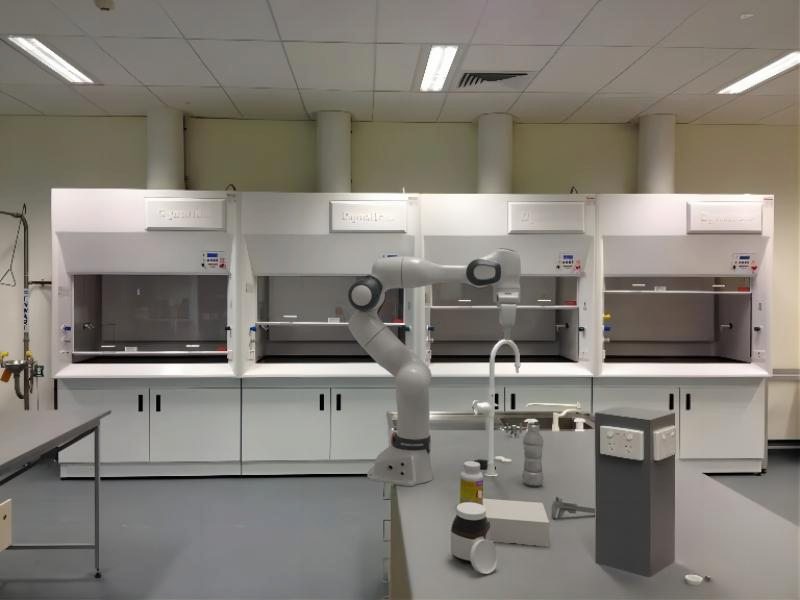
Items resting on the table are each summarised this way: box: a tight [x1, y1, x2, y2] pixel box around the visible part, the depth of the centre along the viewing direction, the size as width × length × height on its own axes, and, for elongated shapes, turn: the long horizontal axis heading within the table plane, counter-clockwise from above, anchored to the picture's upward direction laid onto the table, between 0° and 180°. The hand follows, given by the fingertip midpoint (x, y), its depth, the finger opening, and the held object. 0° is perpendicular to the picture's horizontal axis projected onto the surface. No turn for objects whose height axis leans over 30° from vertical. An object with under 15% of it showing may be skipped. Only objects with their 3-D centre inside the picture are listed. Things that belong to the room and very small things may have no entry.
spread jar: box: [450, 502, 499, 575], centre depth 114 cm, size 12×11×12 cm
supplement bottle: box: [459, 460, 484, 504], centre depth 144 cm, size 7×7×13 cm
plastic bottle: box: [522, 422, 544, 487], centre depth 163 cm, size 6×7×20 cm
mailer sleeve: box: [482, 498, 550, 548], centre depth 129 cm, size 16×12×6 cm
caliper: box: [551, 496, 595, 520], centre depth 140 cm, size 20×1×6 cm, turn 101°
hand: (506, 339), depth 165 cm, fingers open, 8 cm apart
